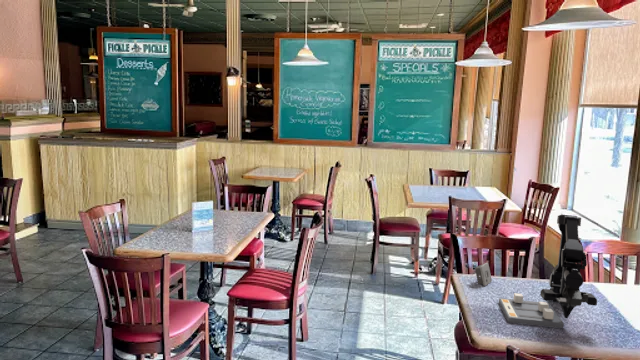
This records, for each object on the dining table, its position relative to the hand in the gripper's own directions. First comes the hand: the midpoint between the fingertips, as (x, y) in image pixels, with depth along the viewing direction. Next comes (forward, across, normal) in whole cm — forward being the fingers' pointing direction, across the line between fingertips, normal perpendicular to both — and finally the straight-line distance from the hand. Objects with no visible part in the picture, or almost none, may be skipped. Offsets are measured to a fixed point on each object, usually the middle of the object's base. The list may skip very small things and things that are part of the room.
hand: (565, 317), depth 180 cm
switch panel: (+3, -12, +7) cm, 14 cm away
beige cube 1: (+1, -15, +14) cm, 20 cm away
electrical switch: (+3, -24, +41) cm, 48 cm away
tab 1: (+1, -6, +7) cm, 10 cm away
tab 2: (+1, -6, 0) cm, 7 cm away
